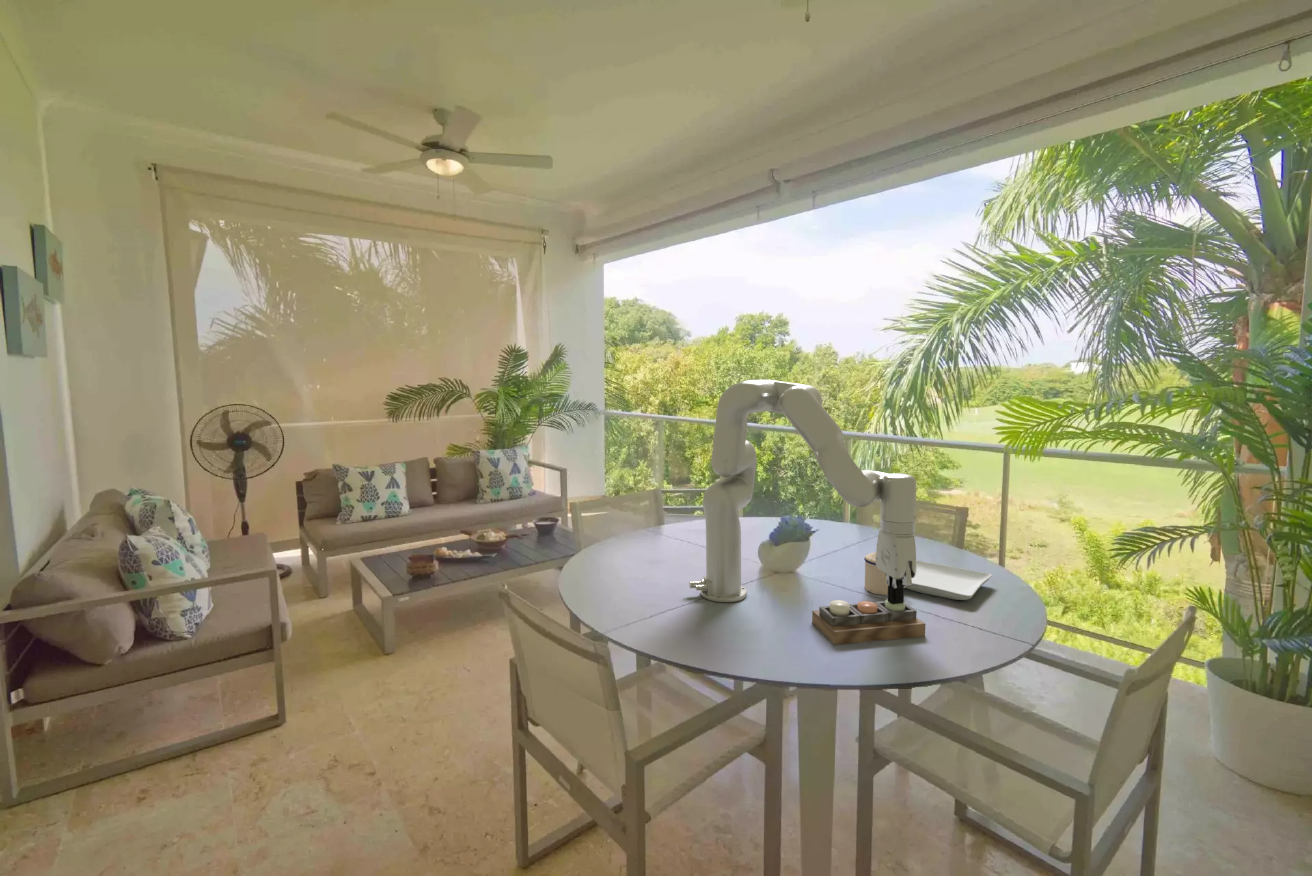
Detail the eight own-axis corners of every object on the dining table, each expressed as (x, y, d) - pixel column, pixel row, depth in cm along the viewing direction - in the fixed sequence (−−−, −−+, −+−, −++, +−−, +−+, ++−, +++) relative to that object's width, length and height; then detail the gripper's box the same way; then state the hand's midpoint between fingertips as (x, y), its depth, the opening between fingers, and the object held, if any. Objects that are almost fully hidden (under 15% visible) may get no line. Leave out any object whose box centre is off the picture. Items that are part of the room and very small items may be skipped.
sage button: (891, 616, 136) (891, 606, 136) (881, 609, 141) (881, 599, 140) (908, 614, 137) (908, 605, 137) (898, 607, 141) (898, 598, 141)
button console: (834, 644, 130) (835, 623, 130) (812, 622, 142) (812, 602, 142) (925, 636, 134) (925, 615, 133) (895, 615, 146) (896, 595, 145)
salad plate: (887, 588, 164) (887, 576, 163) (914, 569, 179) (915, 558, 179) (970, 608, 149) (971, 595, 149) (992, 585, 165) (993, 573, 164)
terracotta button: (863, 619, 135) (863, 609, 135) (853, 611, 140) (854, 601, 139) (880, 617, 136) (881, 607, 136) (871, 610, 140) (871, 600, 140)
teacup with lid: (904, 595, 159) (906, 553, 157) (871, 596, 158) (873, 554, 157) (885, 579, 171) (886, 540, 169) (854, 580, 170) (855, 541, 169)
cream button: (834, 618, 134) (835, 608, 134) (826, 610, 138) (826, 600, 138) (852, 616, 135) (853, 606, 134) (843, 609, 139) (844, 599, 139)
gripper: (866, 520, 143) (864, 592, 145) (900, 536, 129) (898, 616, 131) (894, 518, 144) (892, 590, 146) (932, 534, 130) (929, 613, 132)
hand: (895, 602), depth 138 cm, fingers closed
